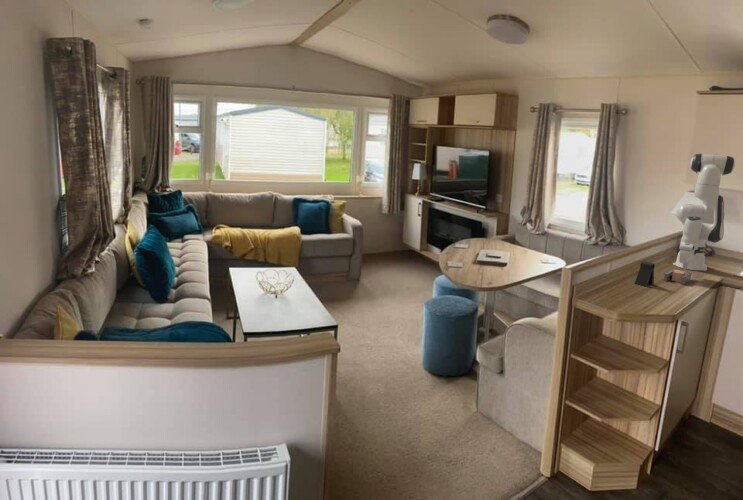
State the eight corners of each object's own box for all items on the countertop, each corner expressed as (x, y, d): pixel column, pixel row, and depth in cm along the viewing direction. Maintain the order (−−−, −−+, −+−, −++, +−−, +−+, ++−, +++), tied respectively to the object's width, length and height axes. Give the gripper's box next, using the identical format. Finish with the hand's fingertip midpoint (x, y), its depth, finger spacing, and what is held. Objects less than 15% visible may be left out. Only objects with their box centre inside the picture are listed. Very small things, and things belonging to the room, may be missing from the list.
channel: (671, 275, 323) (672, 269, 322) (690, 279, 316) (691, 273, 315) (663, 280, 311) (664, 273, 310) (683, 284, 304) (684, 277, 303)
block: (673, 278, 319) (675, 269, 318) (683, 279, 316) (685, 271, 315) (671, 280, 312) (673, 272, 311) (681, 282, 310) (683, 273, 308)
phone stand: (645, 286, 296) (649, 264, 293) (634, 283, 300) (638, 262, 298) (653, 284, 301) (657, 263, 298) (642, 281, 306) (646, 260, 303)
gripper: (686, 242, 326) (682, 265, 329) (679, 246, 311) (674, 270, 313) (699, 244, 322) (694, 267, 325) (691, 248, 307) (687, 272, 309)
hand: (684, 268), depth 319 cm, fingers closed
